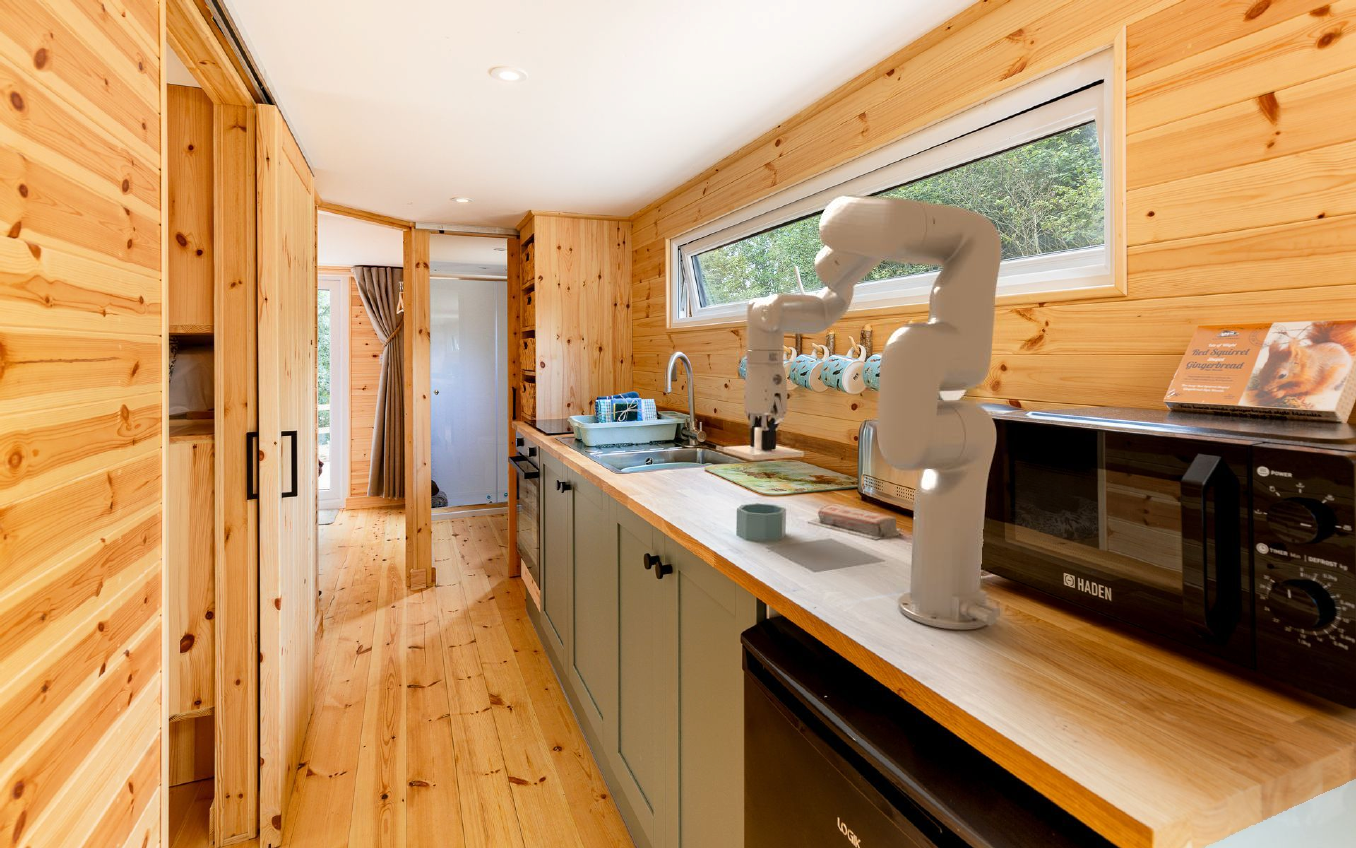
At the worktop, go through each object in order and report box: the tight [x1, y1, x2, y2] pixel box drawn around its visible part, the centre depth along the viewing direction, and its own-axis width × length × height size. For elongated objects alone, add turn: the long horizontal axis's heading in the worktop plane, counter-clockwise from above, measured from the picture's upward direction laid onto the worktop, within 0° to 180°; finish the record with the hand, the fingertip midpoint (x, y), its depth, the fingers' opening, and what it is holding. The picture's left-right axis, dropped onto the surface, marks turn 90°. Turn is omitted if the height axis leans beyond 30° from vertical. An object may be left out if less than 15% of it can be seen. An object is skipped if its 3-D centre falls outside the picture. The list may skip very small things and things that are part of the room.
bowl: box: [736, 503, 787, 543], centre depth 136 cm, size 10×10×6 cm
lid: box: [723, 427, 805, 461], centre depth 134 cm, size 12×12×6 cm
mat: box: [764, 538, 886, 573], centre depth 124 cm, size 16×16×1 cm
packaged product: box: [807, 503, 902, 541], centre depth 143 cm, size 18×5×10 cm
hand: (762, 447), depth 134 cm, fingers closed on lid, 3 cm apart
